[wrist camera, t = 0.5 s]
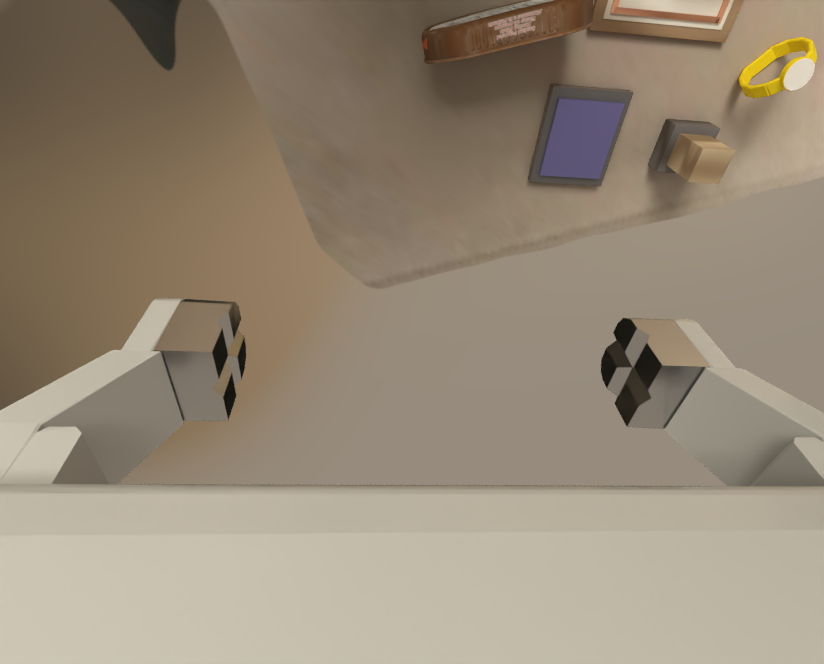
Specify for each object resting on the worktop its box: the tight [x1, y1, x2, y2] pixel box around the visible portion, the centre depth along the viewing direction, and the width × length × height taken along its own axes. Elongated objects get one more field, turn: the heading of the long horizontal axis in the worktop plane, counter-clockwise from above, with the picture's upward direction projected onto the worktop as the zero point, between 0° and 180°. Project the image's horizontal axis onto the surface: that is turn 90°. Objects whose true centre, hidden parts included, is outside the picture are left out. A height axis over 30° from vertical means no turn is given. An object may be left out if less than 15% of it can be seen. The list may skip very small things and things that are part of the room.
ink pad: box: [528, 84, 633, 186], centre depth 52 cm, size 10×8×2 cm
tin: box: [422, 0, 594, 64], centre depth 42 cm, size 15×3×8 cm, turn 102°
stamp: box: [648, 119, 735, 184], centre depth 51 cm, size 5×5×7 cm
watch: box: [739, 37, 817, 98], centre depth 46 cm, size 6×3×6 cm, turn 135°
